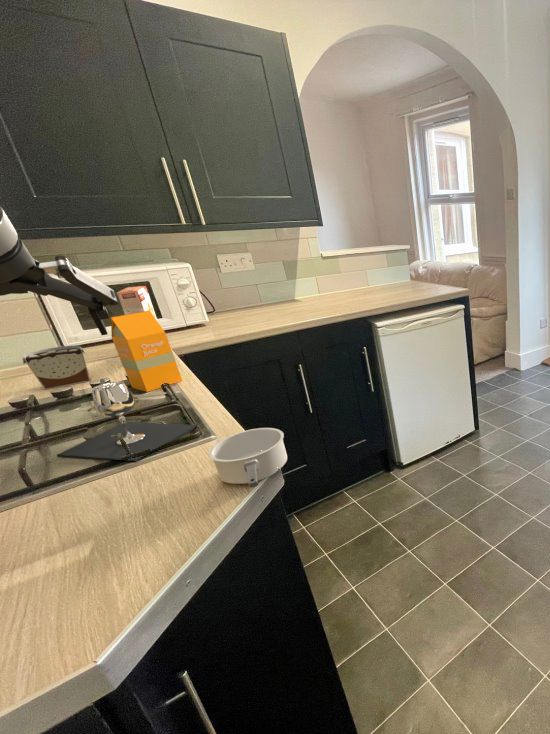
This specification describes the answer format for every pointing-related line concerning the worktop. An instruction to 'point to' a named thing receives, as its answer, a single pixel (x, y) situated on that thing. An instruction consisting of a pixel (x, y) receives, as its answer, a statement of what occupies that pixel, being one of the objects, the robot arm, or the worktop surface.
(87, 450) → the mat
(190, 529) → the worktop surface
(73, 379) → the food container
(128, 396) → the wineglass
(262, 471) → the saucepan
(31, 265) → the robot arm
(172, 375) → the orange juice
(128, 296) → the cracker box
